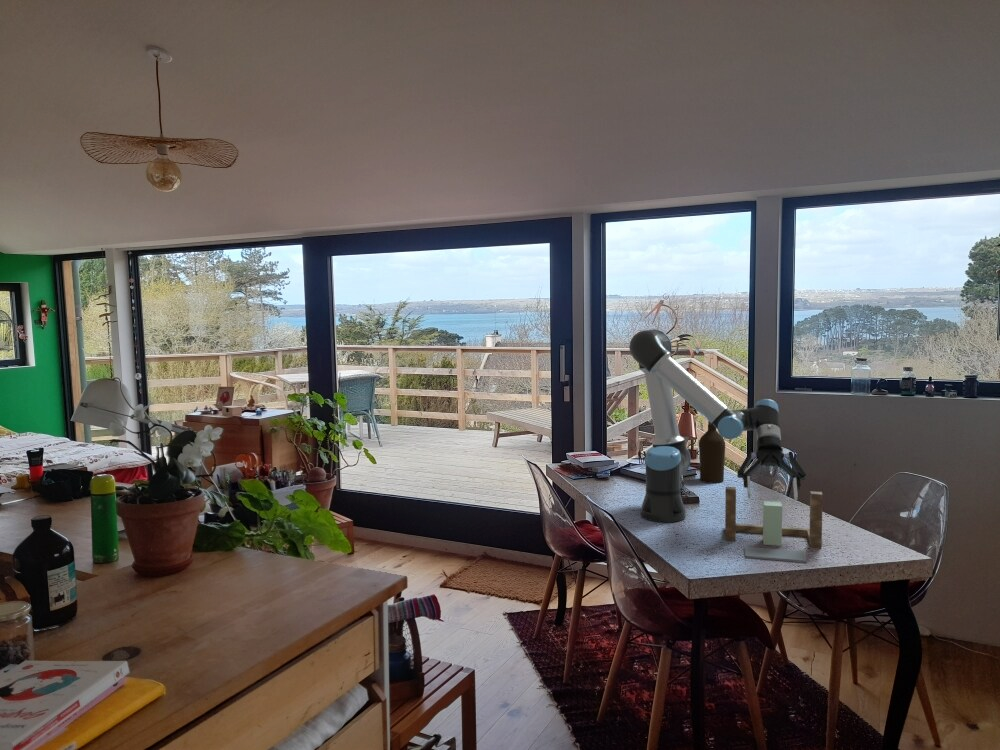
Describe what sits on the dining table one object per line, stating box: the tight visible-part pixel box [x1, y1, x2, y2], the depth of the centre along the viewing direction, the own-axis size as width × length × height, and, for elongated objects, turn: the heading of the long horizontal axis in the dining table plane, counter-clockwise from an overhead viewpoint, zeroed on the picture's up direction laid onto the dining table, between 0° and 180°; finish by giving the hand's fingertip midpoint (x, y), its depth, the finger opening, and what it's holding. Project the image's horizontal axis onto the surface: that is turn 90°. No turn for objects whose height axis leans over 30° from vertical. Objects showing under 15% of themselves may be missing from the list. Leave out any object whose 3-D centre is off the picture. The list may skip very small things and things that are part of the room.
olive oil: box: [698, 420, 726, 483], centre depth 287 cm, size 11×11×25 cm
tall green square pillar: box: [762, 500, 783, 547], centre depth 207 cm, size 5×5×12 cm
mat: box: [744, 546, 808, 564], centre depth 196 cm, size 16×8×1 cm, turn 72°
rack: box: [724, 486, 824, 549], centre depth 211 cm, size 27×12×16 cm, turn 72°
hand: (772, 497), depth 213 cm, fingers open, 13 cm apart
